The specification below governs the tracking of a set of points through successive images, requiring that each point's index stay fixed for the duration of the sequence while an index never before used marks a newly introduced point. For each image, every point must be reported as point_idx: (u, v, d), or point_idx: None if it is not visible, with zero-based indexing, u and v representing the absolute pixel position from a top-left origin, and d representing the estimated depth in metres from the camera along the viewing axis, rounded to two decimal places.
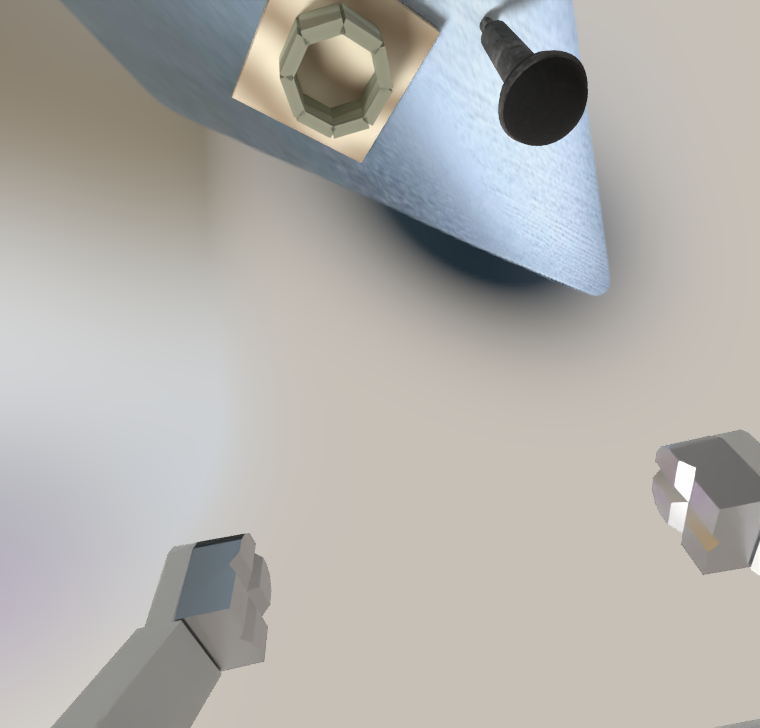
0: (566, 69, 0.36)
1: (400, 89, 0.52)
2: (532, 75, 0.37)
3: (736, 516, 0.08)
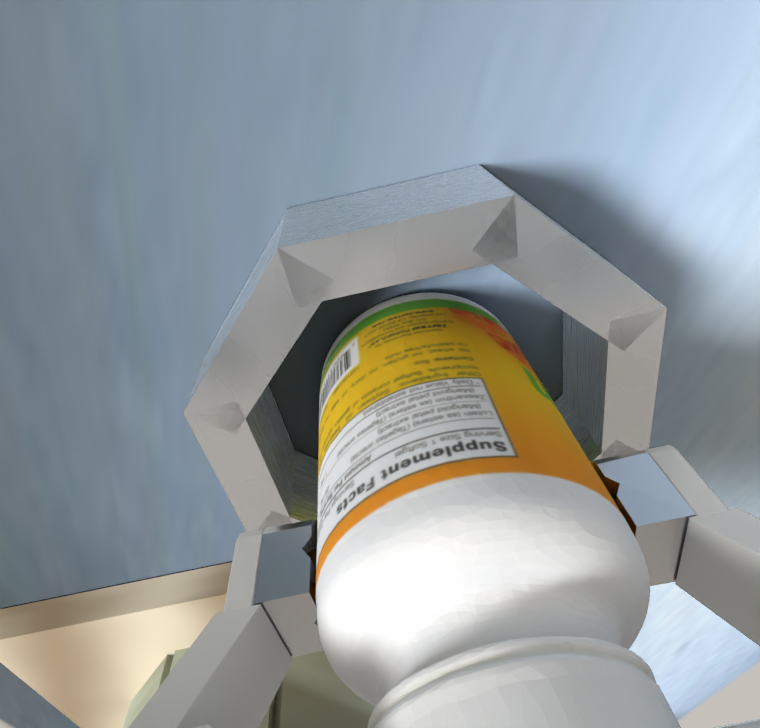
0: None
1: None
2: None
3: (654, 532, 0.08)
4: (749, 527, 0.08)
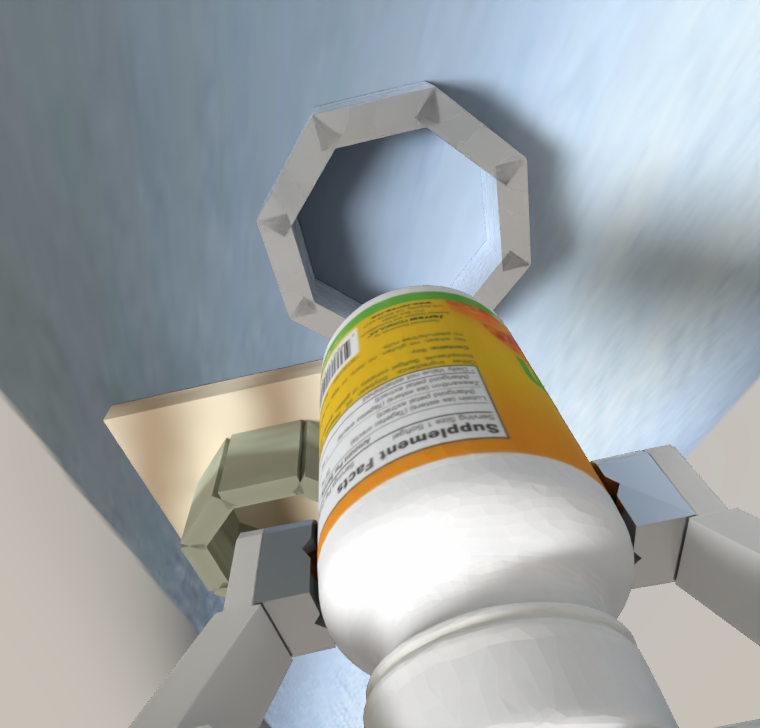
0: None
1: None
2: None
3: (654, 532, 0.08)
4: (749, 527, 0.08)
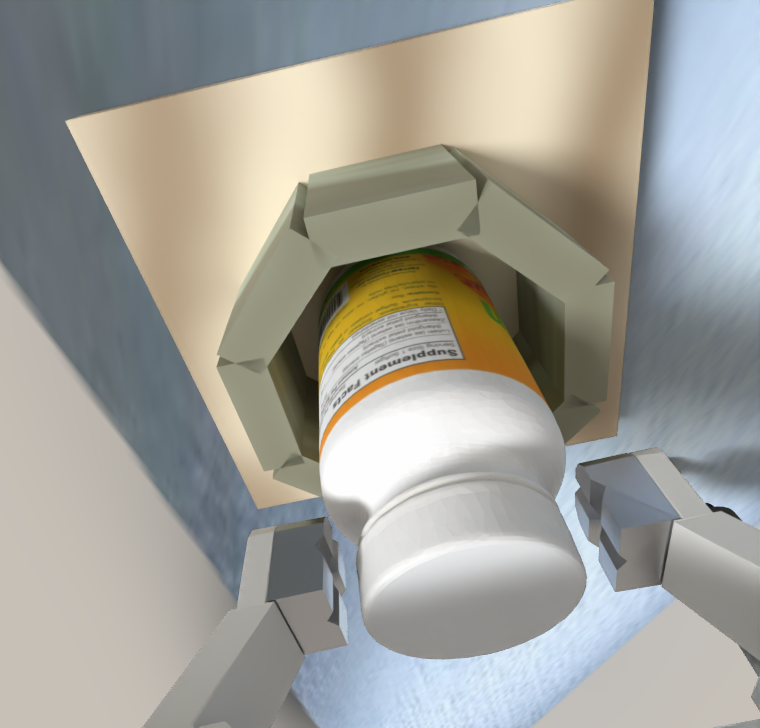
0: None
1: None
2: None
3: (639, 535, 0.08)
4: (733, 530, 0.08)
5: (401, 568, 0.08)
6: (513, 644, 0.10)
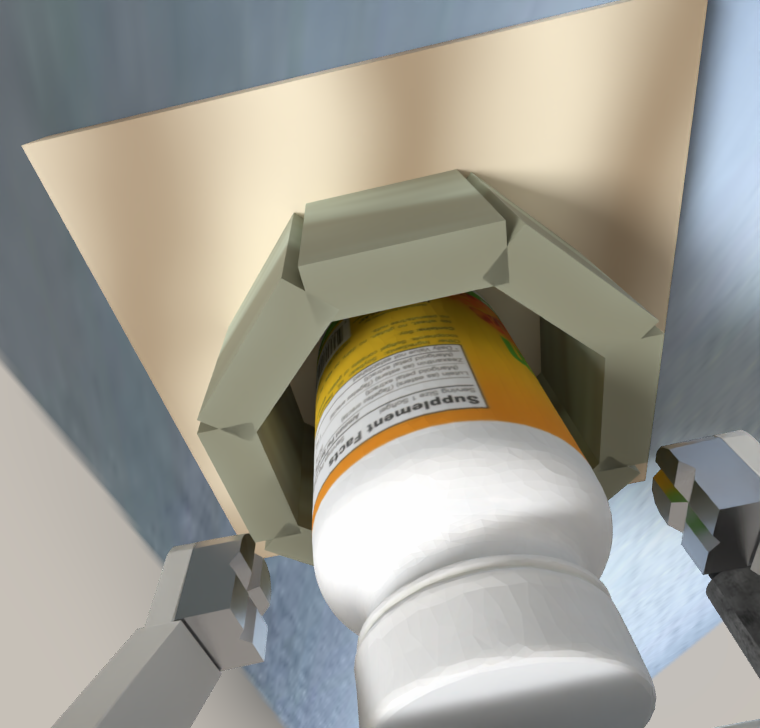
0: None
1: None
2: None
3: (736, 516, 0.08)
4: None
5: (412, 692, 0.06)
6: None
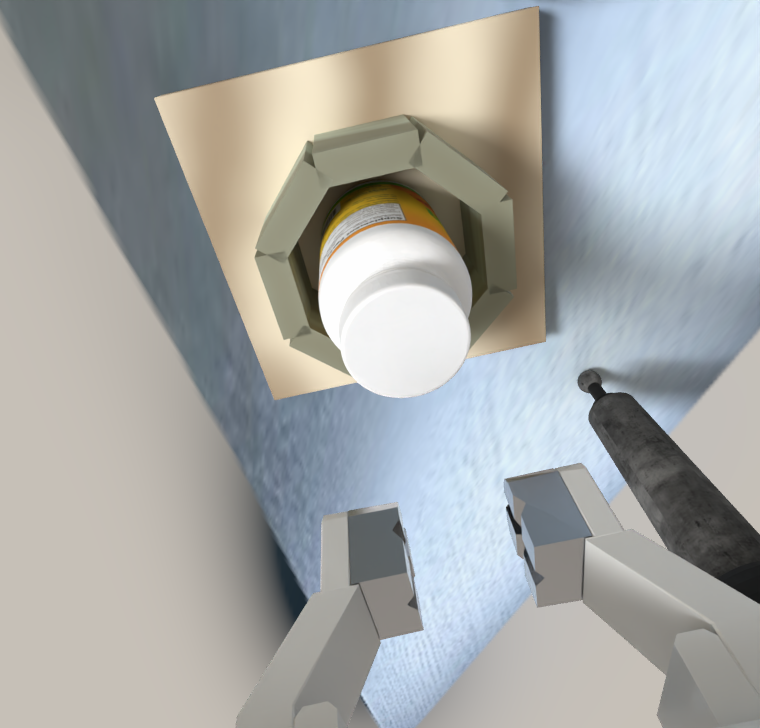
0: None
1: None
2: None
3: (554, 553, 0.08)
4: (640, 549, 0.08)
5: (360, 305, 0.14)
6: (434, 386, 0.16)
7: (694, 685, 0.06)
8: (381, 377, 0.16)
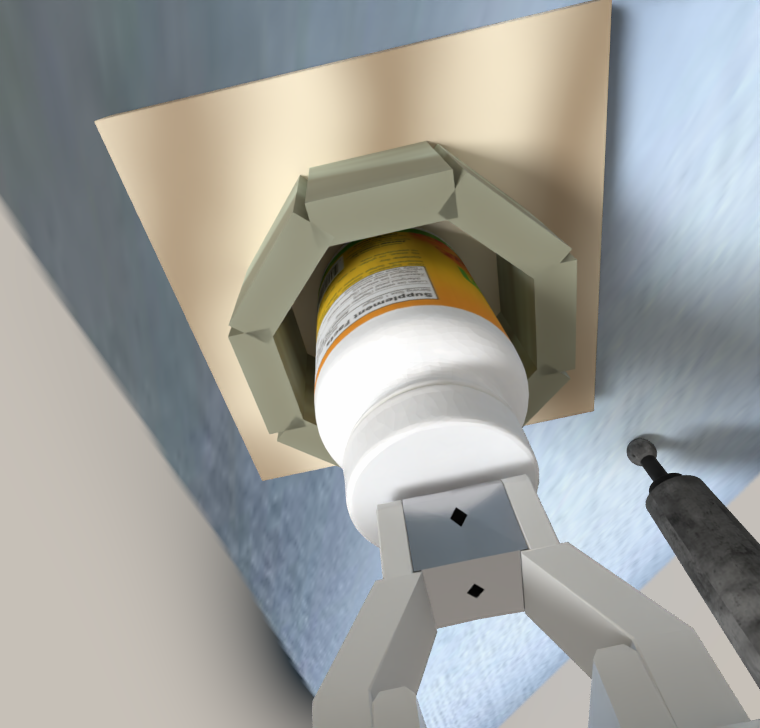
0: None
1: None
2: None
3: (491, 565, 0.08)
4: (572, 563, 0.08)
5: (377, 448, 0.09)
6: None
7: (609, 701, 0.06)
8: None
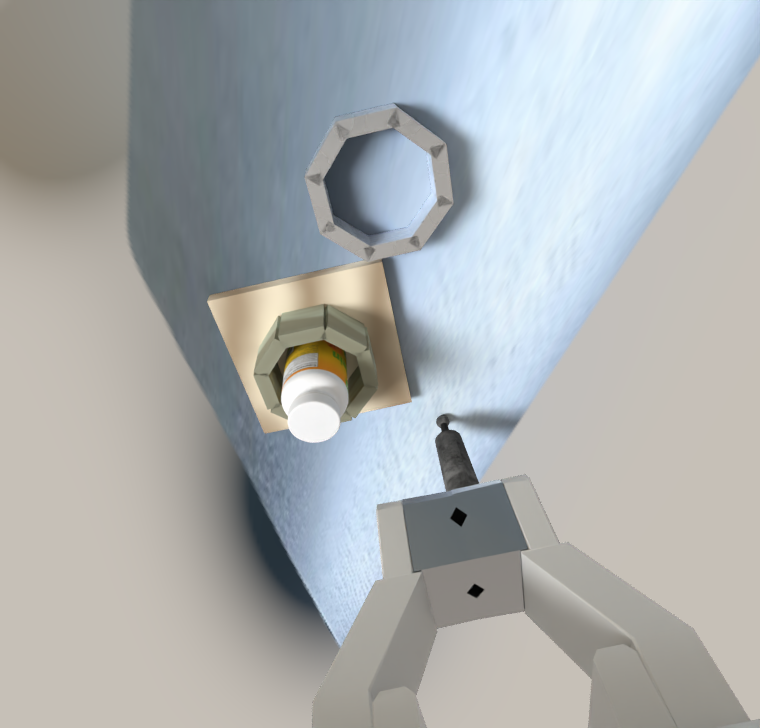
0: None
1: None
2: None
3: (491, 565, 0.08)
4: (572, 562, 0.08)
5: (294, 409, 0.37)
6: (327, 437, 0.39)
7: (609, 701, 0.06)
8: (305, 434, 0.39)
